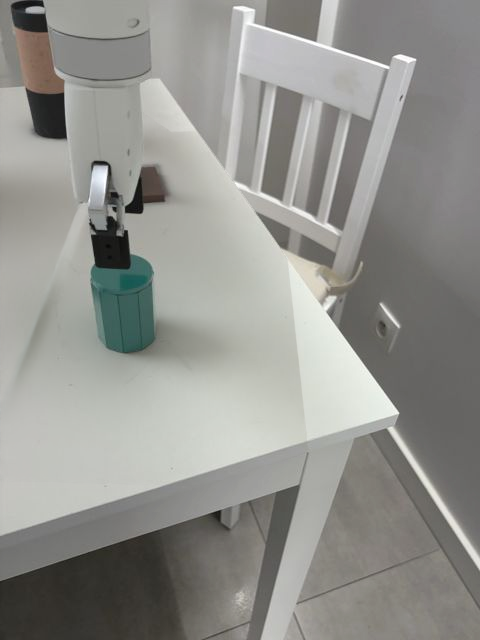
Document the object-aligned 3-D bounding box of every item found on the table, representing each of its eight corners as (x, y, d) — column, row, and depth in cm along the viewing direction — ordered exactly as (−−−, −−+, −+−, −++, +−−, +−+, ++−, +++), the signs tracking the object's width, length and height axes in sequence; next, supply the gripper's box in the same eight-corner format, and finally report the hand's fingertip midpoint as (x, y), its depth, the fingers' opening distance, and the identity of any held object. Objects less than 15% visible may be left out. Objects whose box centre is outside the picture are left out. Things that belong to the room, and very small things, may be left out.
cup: (94, 351, 61) (84, 289, 55) (104, 312, 66) (96, 250, 60) (152, 354, 62) (149, 293, 56) (158, 315, 67) (156, 254, 60)
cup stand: (105, 205, 83) (99, 156, 77) (99, 175, 89) (94, 128, 83) (164, 201, 85) (163, 154, 80) (155, 173, 91) (153, 127, 86)
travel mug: (27, 131, 97) (0, 1, 83) (68, 123, 101) (49, -3, 86) (46, 149, 93) (22, 16, 79) (88, 140, 97) (72, 11, 83)
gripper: (76, 16, 48) (98, 192, 60) (21, 87, 36) (63, 290, 48) (161, 24, 49) (167, 196, 61) (136, 97, 37) (149, 294, 49)
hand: (121, 237), depth 55 cm, fingers open, 9 cm apart
